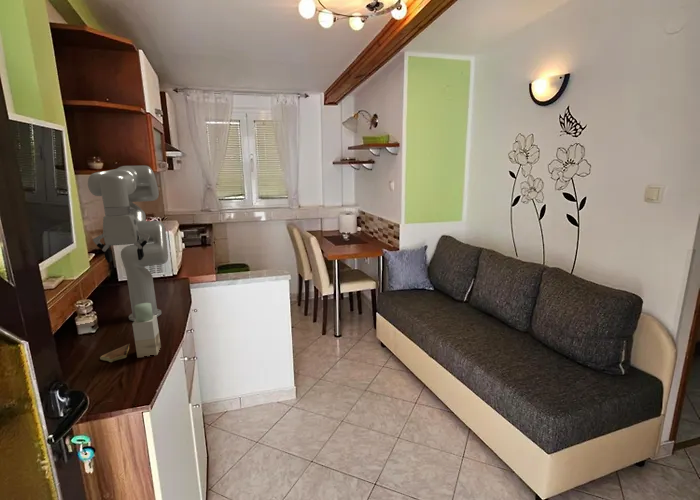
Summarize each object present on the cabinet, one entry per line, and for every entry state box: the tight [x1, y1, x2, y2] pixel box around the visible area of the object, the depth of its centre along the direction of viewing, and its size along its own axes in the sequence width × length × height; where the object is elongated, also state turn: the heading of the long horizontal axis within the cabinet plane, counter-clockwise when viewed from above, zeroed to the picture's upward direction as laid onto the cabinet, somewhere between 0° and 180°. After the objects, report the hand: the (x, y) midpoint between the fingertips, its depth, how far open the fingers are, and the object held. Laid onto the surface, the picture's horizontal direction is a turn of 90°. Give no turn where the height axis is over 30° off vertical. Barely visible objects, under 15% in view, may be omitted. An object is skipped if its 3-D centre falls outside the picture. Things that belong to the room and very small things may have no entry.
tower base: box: [134, 331, 162, 358], centre depth 129 cm, size 6×6×6 cm
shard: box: [99, 343, 130, 363], centre depth 129 cm, size 11×8×2 cm
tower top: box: [132, 315, 160, 342], centre depth 128 cm, size 6×6×6 cm
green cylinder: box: [134, 303, 153, 322], centre depth 127 cm, size 5×5×5 cm
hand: (125, 260), depth 133 cm, fingers open, 9 cm apart
